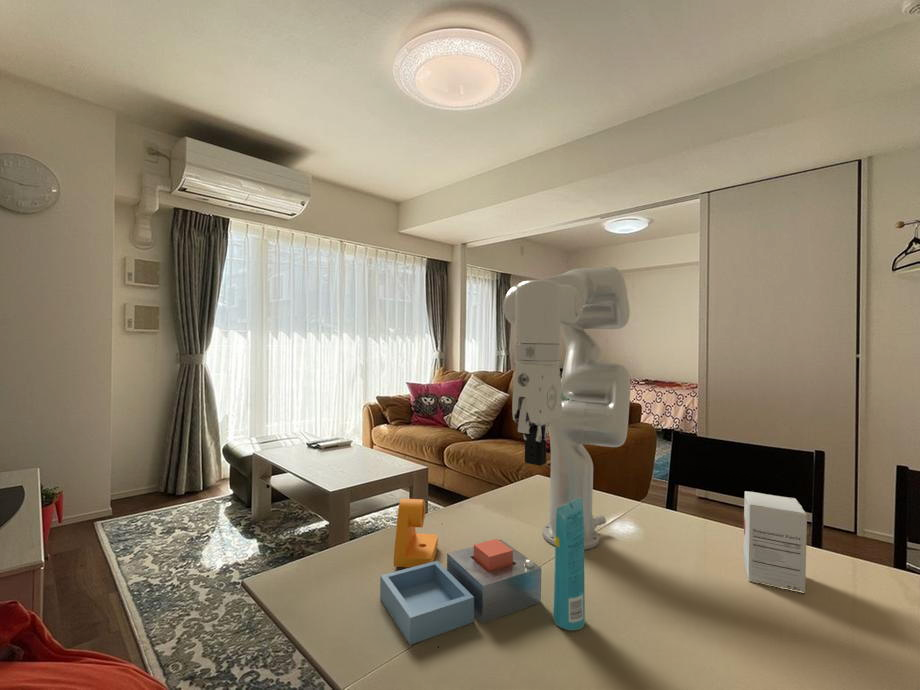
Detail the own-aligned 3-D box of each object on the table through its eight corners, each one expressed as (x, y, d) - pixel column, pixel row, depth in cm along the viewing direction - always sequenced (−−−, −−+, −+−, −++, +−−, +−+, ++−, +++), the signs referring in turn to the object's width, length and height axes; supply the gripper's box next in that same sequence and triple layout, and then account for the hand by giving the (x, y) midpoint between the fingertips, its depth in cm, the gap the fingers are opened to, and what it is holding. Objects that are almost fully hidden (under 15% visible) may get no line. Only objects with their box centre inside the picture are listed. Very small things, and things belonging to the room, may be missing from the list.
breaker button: (496, 576, 80) (496, 538, 80) (512, 590, 75) (513, 550, 75) (473, 583, 77) (473, 544, 77) (488, 598, 73) (489, 556, 73)
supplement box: (742, 561, 90) (743, 489, 90) (795, 572, 86) (797, 497, 86) (746, 582, 82) (748, 503, 82) (806, 595, 78) (808, 513, 78)
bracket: (430, 573, 83) (431, 511, 83) (393, 570, 84) (394, 509, 84) (438, 547, 94) (439, 492, 94) (405, 544, 94) (406, 490, 94)
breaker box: (500, 569, 84) (501, 534, 84) (540, 602, 74) (541, 561, 74) (446, 585, 78) (447, 547, 78) (482, 623, 68) (483, 579, 68)
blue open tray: (436, 582, 80) (437, 560, 80) (473, 622, 68) (474, 597, 68) (380, 598, 74) (380, 575, 74) (409, 645, 63) (410, 617, 63)
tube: (565, 605, 73) (567, 493, 73) (592, 617, 70) (594, 500, 70) (543, 626, 68) (546, 505, 68) (572, 640, 65) (574, 513, 65)
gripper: (538, 356, 64) (536, 479, 64) (575, 354, 76) (573, 457, 76) (494, 355, 68) (493, 469, 69) (536, 353, 80) (534, 450, 81)
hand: (535, 463), depth 72 cm, fingers closed
